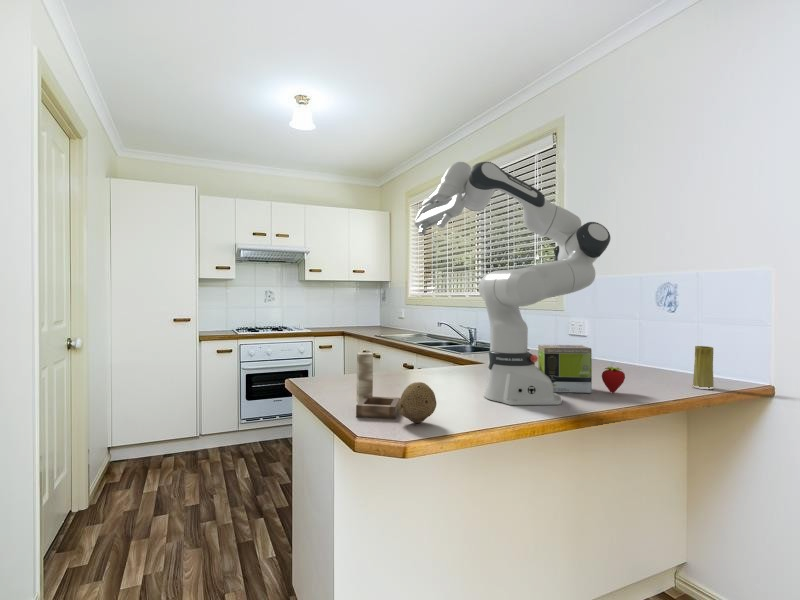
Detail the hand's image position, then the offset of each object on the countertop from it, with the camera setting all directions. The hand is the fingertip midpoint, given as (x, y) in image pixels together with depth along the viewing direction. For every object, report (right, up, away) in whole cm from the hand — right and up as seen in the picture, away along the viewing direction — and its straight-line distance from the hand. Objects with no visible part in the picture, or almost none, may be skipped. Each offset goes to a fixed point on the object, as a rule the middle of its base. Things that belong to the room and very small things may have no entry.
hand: (430, 230), depth 144 cm
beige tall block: (-20, -52, -14) cm, 57 cm away
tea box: (+45, -52, +5) cm, 69 cm away
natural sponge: (-5, -52, -35) cm, 63 cm away
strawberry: (+59, -53, +2) cm, 79 cm away
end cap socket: (-15, -52, -26) cm, 60 cm away
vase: (+95, -53, +11) cm, 109 cm away
